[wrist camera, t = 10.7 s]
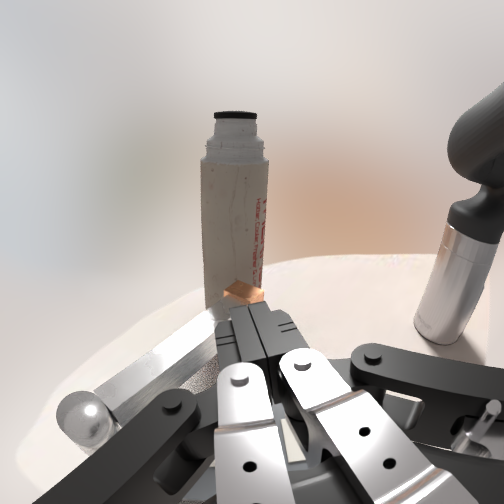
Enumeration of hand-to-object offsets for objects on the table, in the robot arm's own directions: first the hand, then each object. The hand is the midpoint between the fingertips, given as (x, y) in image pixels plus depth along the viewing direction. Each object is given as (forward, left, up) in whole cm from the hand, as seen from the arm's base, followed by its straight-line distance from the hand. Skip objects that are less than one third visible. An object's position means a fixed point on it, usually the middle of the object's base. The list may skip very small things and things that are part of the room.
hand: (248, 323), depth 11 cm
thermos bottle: (0, -24, -19) cm, 31 cm away
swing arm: (+5, -6, -12) cm, 14 cm away
